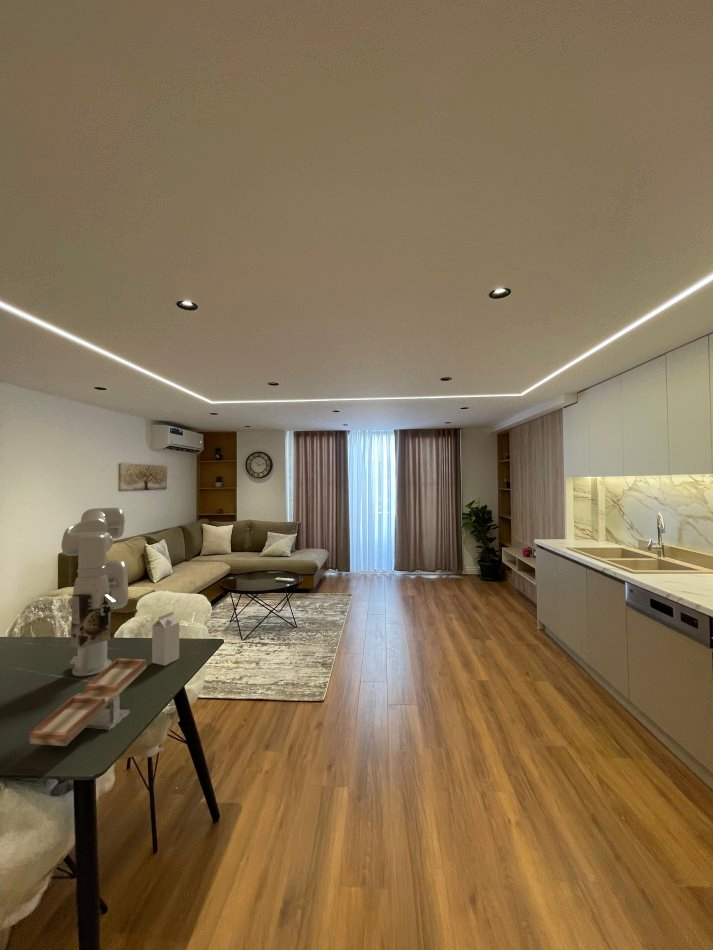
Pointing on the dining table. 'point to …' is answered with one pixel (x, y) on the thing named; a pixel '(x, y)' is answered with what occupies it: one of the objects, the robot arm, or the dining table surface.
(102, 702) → the seesaw beam
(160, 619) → the milk carton
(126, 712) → the seesaw stand
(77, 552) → the robot arm
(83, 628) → the coffee box
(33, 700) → the dining table surface
